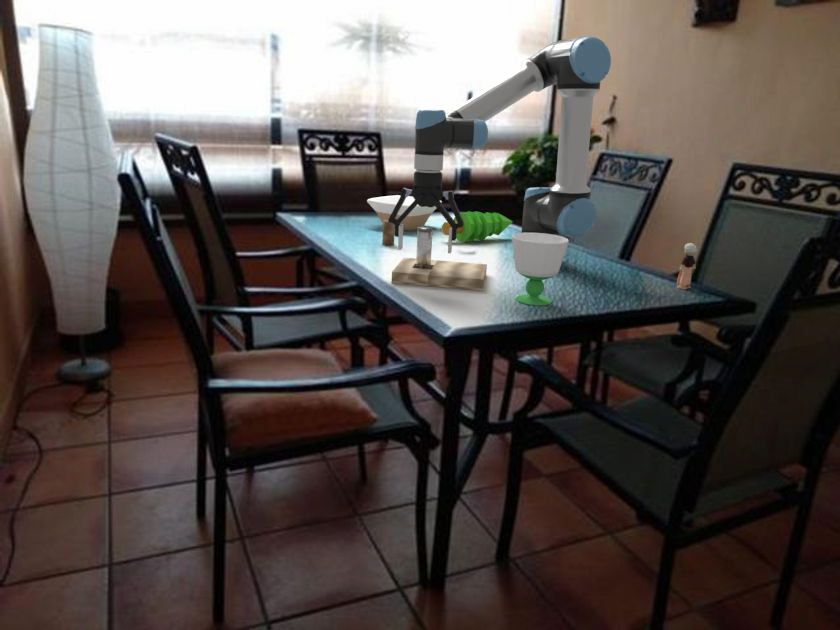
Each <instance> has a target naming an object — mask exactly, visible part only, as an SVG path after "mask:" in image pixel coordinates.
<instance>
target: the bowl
mask: <svg viewBox="0 0 840 630" xmlns="http://www.w3.org/2000/svg"><path fill="white" fill-rule="evenodd" d="M400 196H401V194H400V195H399V194H395V195H386V196H379V197H378V196H377V197H371V198H368V199H367V200H366V202H367V204H368V205H370V207H371V208H372V209H373V210H374V211H375V212H376V214H377V215H378V218H379V219H380V221H381V224H383V220H388V219H389V217H390V216H391V214H392V212H393V210H394V208H395V206H396V204H397V202H398V201H399V199H400ZM414 201H415V199H414V198H413V196H412V195H409V196H408V197H406V199H405V201H404V203H403V204H402V206H401V208H400V210H399V212H398V214H397V216H396V217H395V219H398V218H399V217H400V216H401V215H402V214H403V213H404V212H405V211H406V209H407V208H408V207H409V206H410V205H411V204H412V203H413V202H414ZM440 202H441V203H442V202H443V201H442V200H440ZM442 204H443V203H442ZM435 210H437V208H436V206H434V207H427V206H425V207H421V206H419V205H417V206H416V207H415V208H414V209H413V210H412V211H411V212H410V213H409V214H408V215H407V216H406V218H405V219H404V220H403V221H402V222H401V223H400V224H403V231H406V230H409V231H414V230H417V229H418V227H425V225H426V223H427V222H428V220H429V218H430V217H431V215H432V214H433V213H434V211H435Z"/></svg>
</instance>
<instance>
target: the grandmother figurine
mask: <svg viewBox="0 0 840 630" xmlns="http://www.w3.org/2000/svg"><path fill="white" fill-rule="evenodd" d="M683 249H684V251H683V252H684V255H685V256H684V257H683V259H682V261H681V263H680V267H679V270H678V271H679V273H678V277H677V280H676V285H677V286H676V289H681V290H688V289H691V288H692V287H691V283H692V281H691V280H692V270H695V269H696V268H697V267H696V260H695V257H694V255H695V253H696V252H698V248H697V246H696V245H695V244H694V243H692V242H689V243H686V244H685V245H684V247H683Z"/></svg>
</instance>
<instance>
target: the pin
mask: <svg viewBox="0 0 840 630" xmlns="http://www.w3.org/2000/svg"><path fill="white" fill-rule="evenodd" d="M416 230H417V233H416V234H417V236H416V237H417V238H416V239H417V240H416V258H415V259H416V268H420V269H431V260H432V245H433V232H434V231H433V227H430V226H423V227H418V229H416Z"/></svg>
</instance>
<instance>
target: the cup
mask: <svg viewBox="0 0 840 630" xmlns="http://www.w3.org/2000/svg"><path fill="white" fill-rule="evenodd" d="M511 241H512V251H513V257H514V258H513V259H514V268H515V271H516V272H517V273H518V274H519V275H521V276H522V277H523V278H526V279H528V280H527V282H526V284H525V292H526V293H527V294H520V295H517V296H515V301H517V302H518V303H521V304H523V305H529V306H535V307H536V306H537V307H538V306H544V307H545V306H548V305H550V304H552V299H550V297H549V298H548V297H546V296H543V295H542V294H543V292H544V290H545V284H544V282H543V281H545V280H548V279H549V280H550V279H551V278H553V277H555V276H557V275H558V273H559V272H560V269H561V266H562V263H563V259H564V257H565V255H566V251H567V248H568V245H569V242H570V241H569V238H568V237H565V236H562V235H558V236H557V235H552V234H545V233H521V232H519V233H518V232H516V233H514V234H512V235H511Z"/></svg>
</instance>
